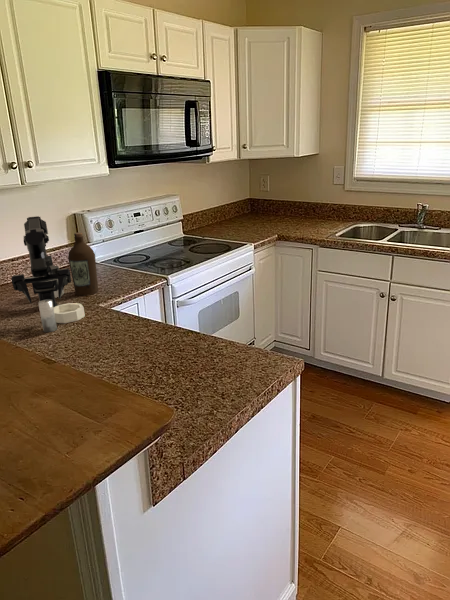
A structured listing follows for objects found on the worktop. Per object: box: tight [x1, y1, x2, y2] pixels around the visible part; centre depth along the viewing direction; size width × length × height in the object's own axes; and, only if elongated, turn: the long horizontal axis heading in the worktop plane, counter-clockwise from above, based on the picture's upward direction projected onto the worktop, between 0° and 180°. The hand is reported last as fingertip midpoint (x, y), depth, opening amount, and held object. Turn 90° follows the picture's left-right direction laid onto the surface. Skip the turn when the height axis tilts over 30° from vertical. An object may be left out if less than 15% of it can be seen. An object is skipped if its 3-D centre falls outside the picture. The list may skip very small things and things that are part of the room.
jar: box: [49, 265, 65, 299], centre depth 196 cm, size 9×8×12 cm
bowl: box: [54, 302, 86, 324], centre depth 171 cm, size 11×11×4 cm
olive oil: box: [67, 232, 99, 296], centre depth 197 cm, size 11×11×25 cm
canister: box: [37, 299, 58, 333], centre depth 159 cm, size 4×4×10 cm
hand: (45, 300), depth 160 cm, fingers open, 9 cm apart
